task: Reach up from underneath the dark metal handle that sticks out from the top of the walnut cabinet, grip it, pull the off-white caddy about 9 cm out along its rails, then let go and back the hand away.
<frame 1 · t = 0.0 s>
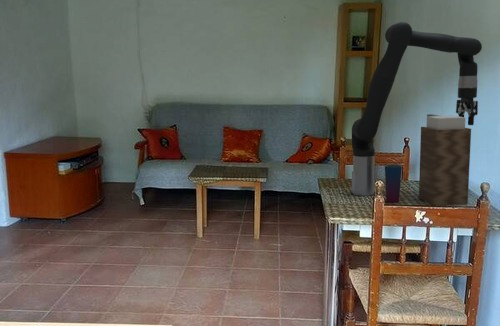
hand: (465, 124, 203), 29 cm above the table, tool pointing down, fingers open, 8 cm apart
cup: (392, 201, 192), on the table
caddy: (439, 123, 190), point 31 cm above the table, slide at 0.0 cm
cabinet: (442, 200, 190), on the table
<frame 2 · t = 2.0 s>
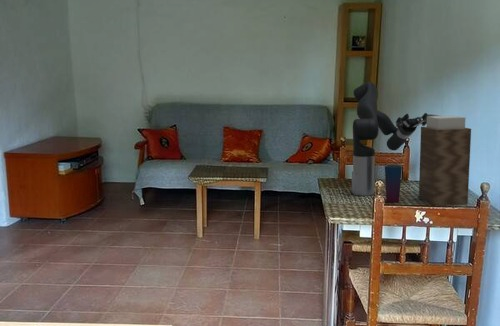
hand: (417, 115, 214), 33 cm above the table, tool pointing upward, fingers open, 8 cm apart
nothing on the table moved.
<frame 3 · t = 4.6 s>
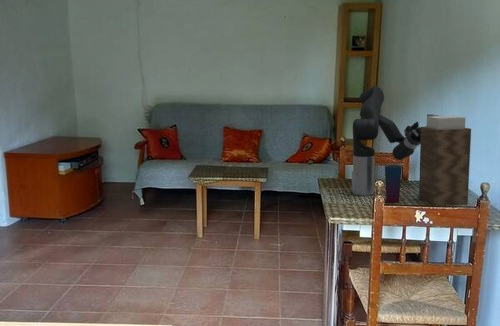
hand: (427, 123, 202), 30 cm above the table, tool pointing upward, fingers open, 8 cm apart
nothing on the table moved.
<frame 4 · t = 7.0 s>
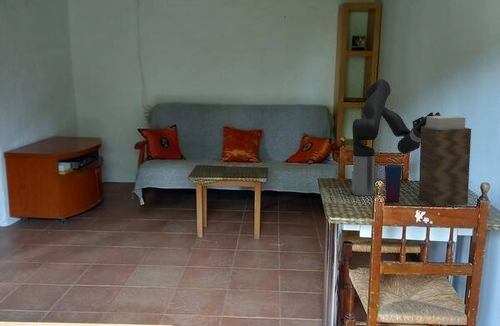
hand: (435, 114, 194), 35 cm above the table, tool pointing upward, fingers closed on caddy, 2 cm apart
caddy: (439, 123, 190), point 31 cm above the table, slide at 0.0 cm, touching gripper
everything else where it was.
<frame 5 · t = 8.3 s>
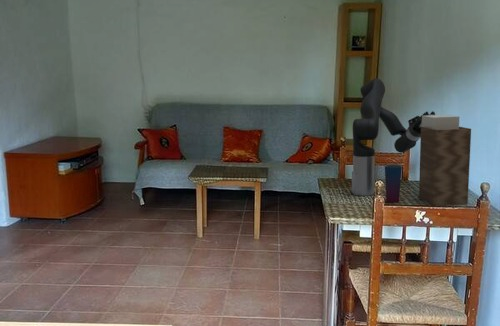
hand: (430, 113, 199), 35 cm above the table, tool pointing upward, fingers closed on caddy, 2 cm apart
caddy: (434, 122, 195), point 31 cm above the table, slide at 4.9 cm, touching gripper
everything else where it was.
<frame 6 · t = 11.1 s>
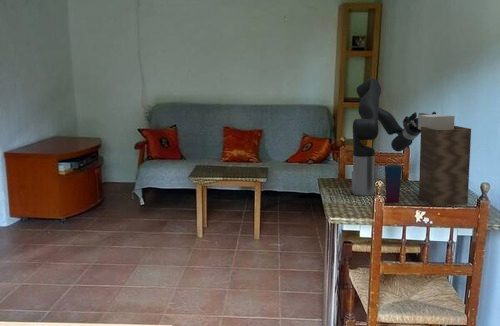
hand: (425, 113, 204), 34 cm above the table, tool pointing upward, fingers open, 8 cm apart
caddy: (430, 121, 199), point 31 cm above the table, slide at 9.0 cm
everything else where it was.
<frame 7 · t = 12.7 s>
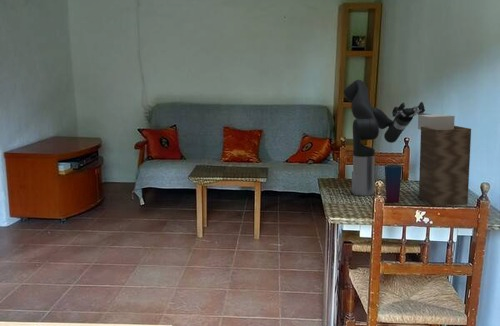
hand: (413, 104, 216), 38 cm above the table, tool pointing upward, fingers open, 8 cm apart
nothing on the table moved.
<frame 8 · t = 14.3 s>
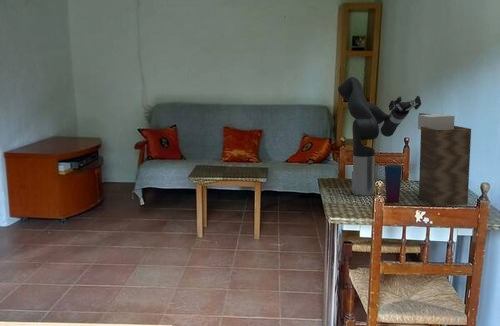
hand: (409, 97, 216), 41 cm above the table, tool pointing upward, fingers open, 8 cm apart
nothing on the table moved.
at the end: caddy slide at 9.0 cm; the gripper is holding nothing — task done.
